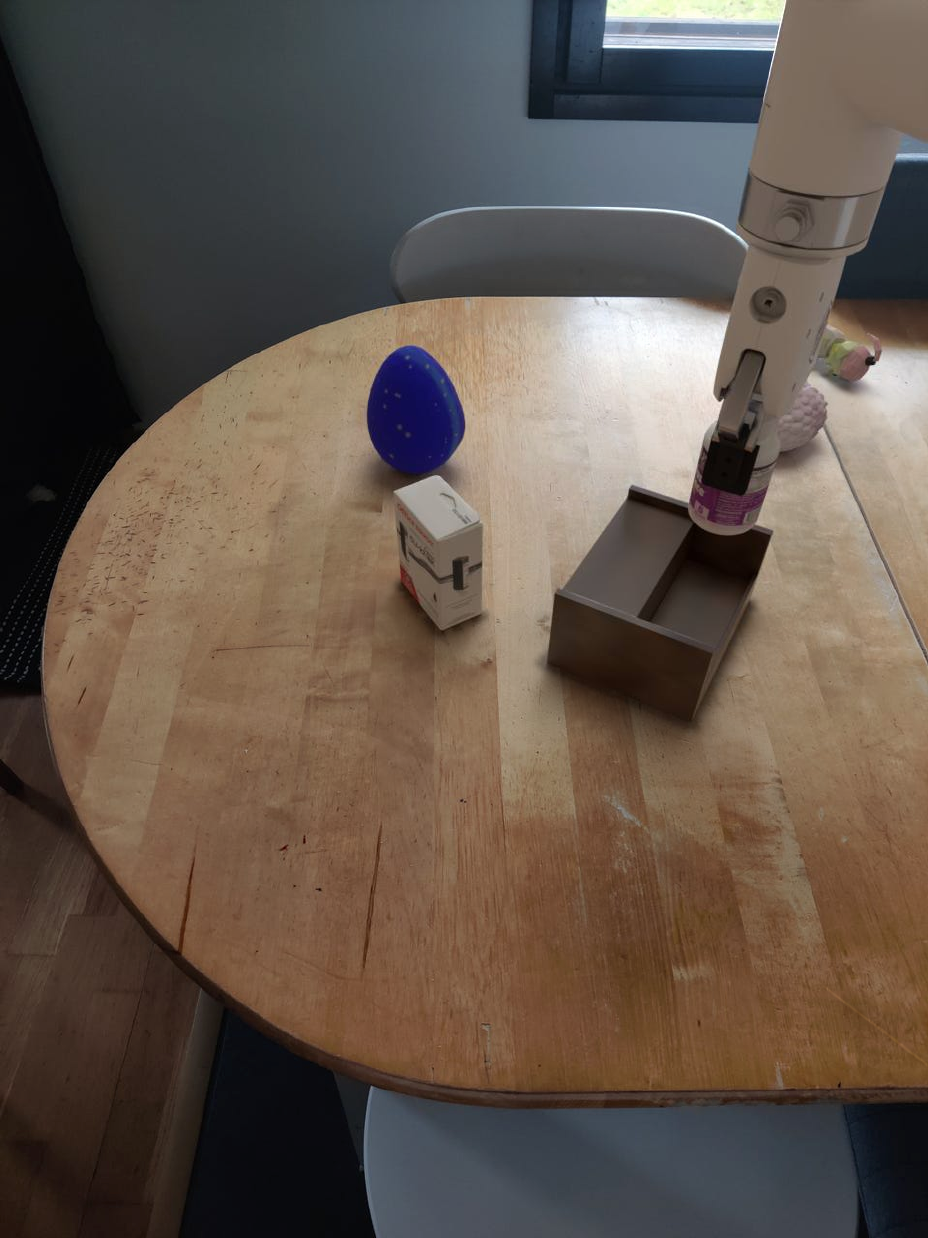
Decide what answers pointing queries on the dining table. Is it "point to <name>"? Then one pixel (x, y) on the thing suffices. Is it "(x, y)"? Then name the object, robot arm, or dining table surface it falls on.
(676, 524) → the brown open box
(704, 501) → the pill bottle
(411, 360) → the ornament
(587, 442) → the dining table surface
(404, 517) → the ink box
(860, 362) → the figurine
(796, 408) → the decorative item
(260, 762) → the dining table surface
